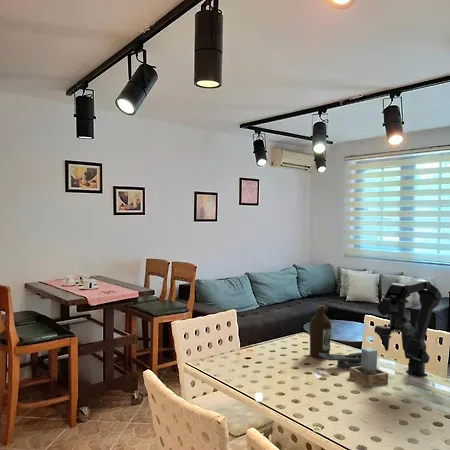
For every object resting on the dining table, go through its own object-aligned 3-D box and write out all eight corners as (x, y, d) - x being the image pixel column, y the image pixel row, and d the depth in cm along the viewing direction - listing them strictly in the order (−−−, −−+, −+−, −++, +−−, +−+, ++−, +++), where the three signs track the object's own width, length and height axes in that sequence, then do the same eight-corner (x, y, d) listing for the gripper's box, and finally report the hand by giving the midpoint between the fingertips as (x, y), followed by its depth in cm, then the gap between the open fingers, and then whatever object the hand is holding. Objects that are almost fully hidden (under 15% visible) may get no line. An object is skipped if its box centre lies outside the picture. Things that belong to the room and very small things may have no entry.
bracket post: (369, 373, 185) (370, 346, 185) (380, 379, 178) (381, 351, 178) (356, 375, 183) (357, 347, 182) (366, 381, 176) (367, 352, 176)
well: (369, 373, 188) (370, 364, 188) (387, 382, 177) (388, 373, 177) (349, 376, 184) (349, 367, 184) (366, 385, 173) (367, 376, 173)
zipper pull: (316, 352, 194) (358, 347, 204) (315, 367, 194) (358, 360, 204) (328, 358, 186) (372, 352, 196) (327, 373, 186) (371, 366, 196)
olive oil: (304, 355, 210) (305, 305, 210) (316, 351, 217) (317, 302, 217) (322, 361, 202) (324, 309, 202) (334, 356, 210) (336, 306, 209)
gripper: (392, 318, 168) (390, 357, 168) (429, 317, 174) (427, 355, 174) (374, 312, 179) (372, 349, 179) (410, 311, 185) (408, 347, 185)
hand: (395, 350), depth 179 cm, fingers open, 9 cm apart
